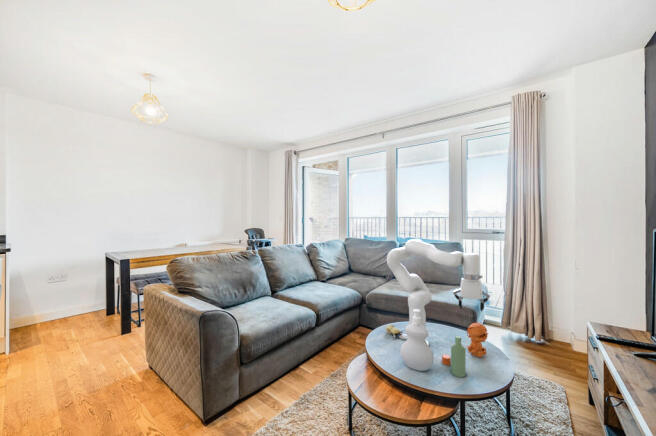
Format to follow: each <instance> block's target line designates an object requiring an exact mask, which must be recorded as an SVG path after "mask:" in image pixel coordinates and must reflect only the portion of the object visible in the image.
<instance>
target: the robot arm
mask: <svg viewBox="0 0 656 436" xmlns="http://www.w3.org/2000/svg"><path fill="white" fill-rule="evenodd" d="M414 256H418V257H422V258H424V259H428V260H430V261H432V262H434V263H435V264H438V265H441V266H445V267H448V268H456V267H459V266H462V277H461V279H460V288H459V289H455V290H453V291H452V294H453V295H454V297H455V298H456V299H457V300H458V307H459V308H460V310H462V309H463V301H462V300H463V299H469V300H479V301H480V302H479V310H480V311H481V312H483V311H484V310H485V303H487V302H488V300H489V298H490V297H491V295H490V294H489V293H487V292H485V291H483V287H482V281H481V279H483V275H481V274H480V255H479V254H478V253H474V252H473V253H472V252H462V251H453V252H448V251H443V250H441V249H439V248H436V246H435V244H432V243H428V242H424V240H422V239H420V238H414V239H413V238H412V239H409V240H407V241H406V242H405V244H404V246H402V247H396V248H393V249H391V250H390V251H389V252H388V254H387V255H386V263H387V266H388V268H389V270H390V271H391V272H392V274H393V276H394V277H395V279H396V281H397V283H398V285H400V288H401V289H402V290H403V291H404V292H411V291H412V292H411V293H410V294H409V295H408V298H407V305H408V318H409V319H408V321H409V322H408V325H409V324H412V322H413V316H414V312H413V310H414V309H420V312H419V317H421V325H422V326H424V327H425V328H426V329H427V314H426V310H425V306H426V305H428V304H429V303H430V302H431V300H432V294H431V291H430V289H428V287H427V286H426V284H425V282H424V280H423V279H422V278H421V277H420V276H419V275H418V274H416V273H410V272H409V271H408V269H407V268H406V267H405V265H403V264H402V263H401V262H404V261H407V260H409V259H411V258H412V257H414ZM458 293H459V295H458ZM483 296H485V297H484V298H483ZM401 334H402V337H403V339H402V340H404V339H406V340H407V339H408V335H407V333H401ZM426 342H427V344H428V346H429V345H430V344H429V341H428V340H426Z"/></svg>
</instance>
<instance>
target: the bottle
mask: <svg viewBox="0 0 656 436" xmlns="http://www.w3.org/2000/svg"><path fill="white" fill-rule="evenodd" d="M454 339H455V341H454V343H451V345H450V357H451V364H450V373H451V374H452V375H453V376H455V377H458V378H465V377H466V370H467V369H466V360H467V359H466V355H467V354H466V351H467V350H466V347H465V345H464V344H462V336H460V335H456V336H455V337H454Z"/></svg>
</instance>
